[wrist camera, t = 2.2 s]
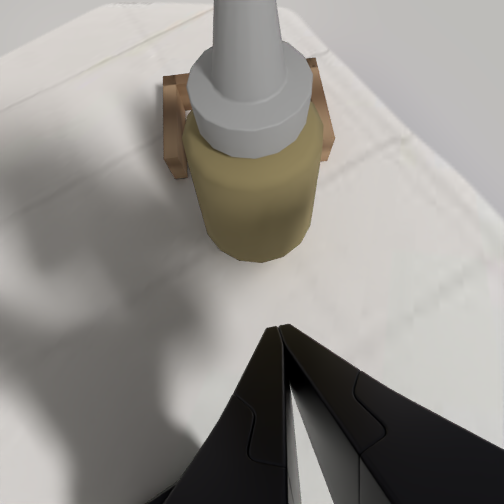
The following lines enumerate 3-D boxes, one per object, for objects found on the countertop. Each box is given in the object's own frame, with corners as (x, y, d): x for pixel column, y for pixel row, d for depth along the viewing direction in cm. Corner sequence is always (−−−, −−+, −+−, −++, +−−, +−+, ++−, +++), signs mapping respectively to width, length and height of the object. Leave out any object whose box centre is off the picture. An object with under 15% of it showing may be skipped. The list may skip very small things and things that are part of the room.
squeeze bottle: (230, 179, 25) (155, -165, 8) (314, 201, 24) (443, -141, 7) (198, 258, 23) (-3, 21, 6) (290, 287, 22) (386, 103, 5)
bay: (327, 160, 25) (335, 138, 22) (175, 178, 25) (163, 158, 22) (310, 86, 28) (315, 57, 25) (173, 102, 28) (163, 76, 25)
